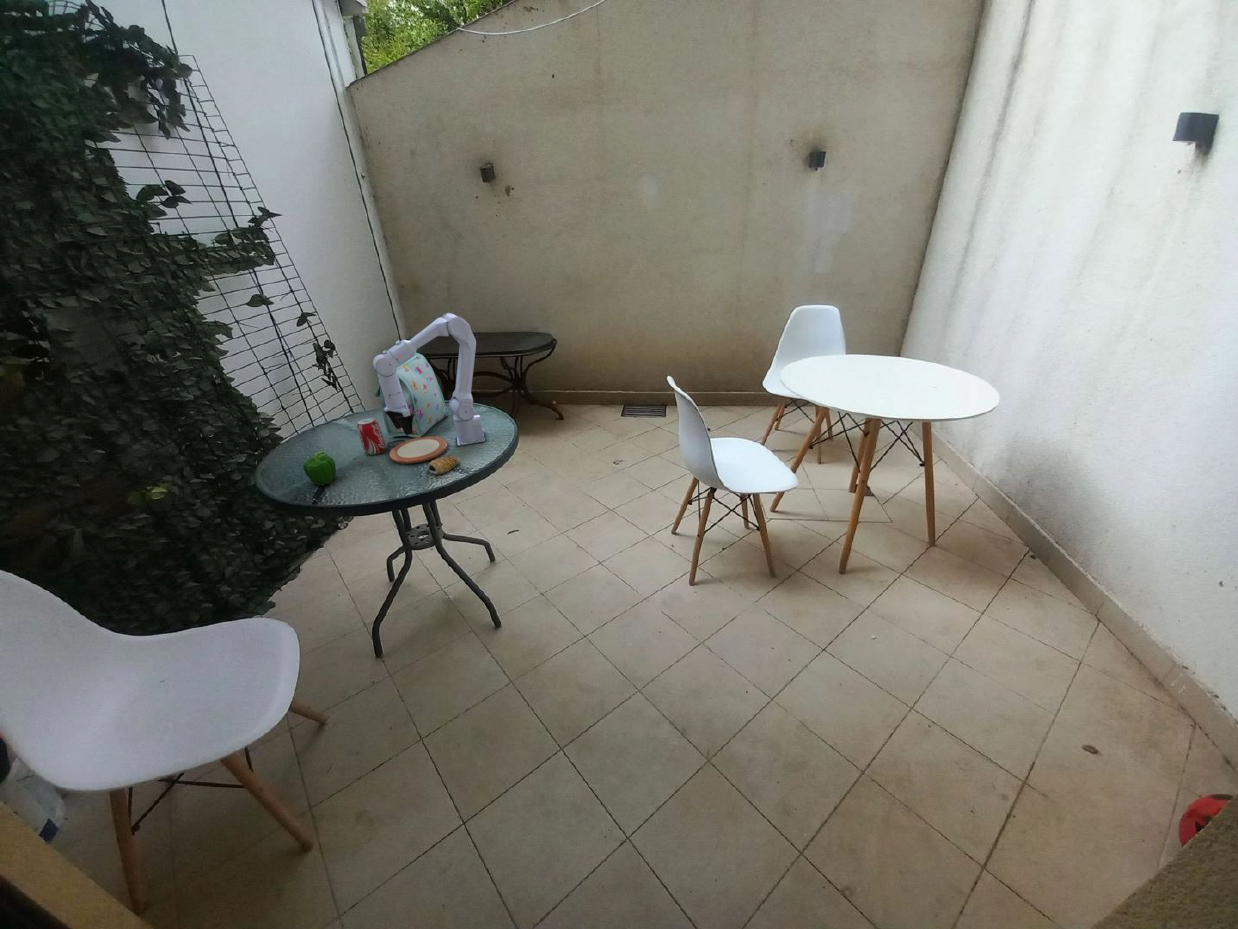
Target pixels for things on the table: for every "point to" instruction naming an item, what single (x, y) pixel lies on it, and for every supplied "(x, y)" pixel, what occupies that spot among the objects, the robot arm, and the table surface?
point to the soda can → (370, 435)
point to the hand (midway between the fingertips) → (404, 430)
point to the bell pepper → (320, 469)
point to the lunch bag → (417, 397)
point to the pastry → (442, 465)
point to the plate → (418, 450)
